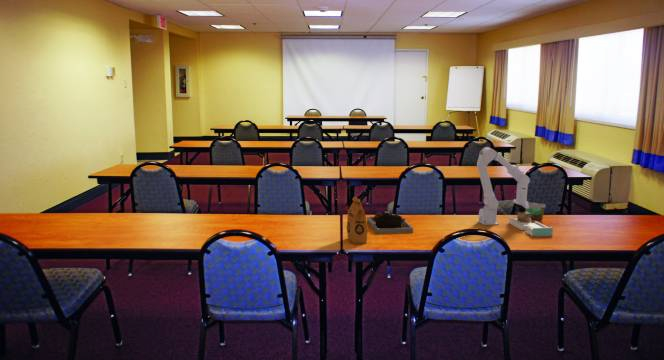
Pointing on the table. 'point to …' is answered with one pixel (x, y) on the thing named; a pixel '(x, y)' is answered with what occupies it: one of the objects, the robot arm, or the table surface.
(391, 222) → the black lump on tray
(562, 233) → the table surface
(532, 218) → the food container
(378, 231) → the tray
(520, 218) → the walnut block
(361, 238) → the coffee package
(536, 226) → the trap runway
